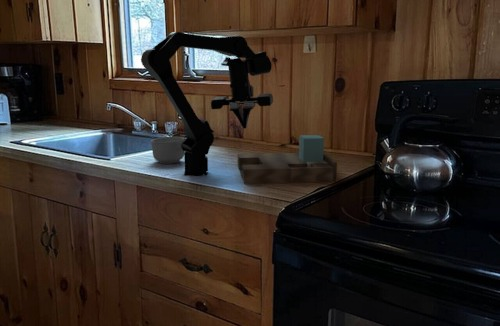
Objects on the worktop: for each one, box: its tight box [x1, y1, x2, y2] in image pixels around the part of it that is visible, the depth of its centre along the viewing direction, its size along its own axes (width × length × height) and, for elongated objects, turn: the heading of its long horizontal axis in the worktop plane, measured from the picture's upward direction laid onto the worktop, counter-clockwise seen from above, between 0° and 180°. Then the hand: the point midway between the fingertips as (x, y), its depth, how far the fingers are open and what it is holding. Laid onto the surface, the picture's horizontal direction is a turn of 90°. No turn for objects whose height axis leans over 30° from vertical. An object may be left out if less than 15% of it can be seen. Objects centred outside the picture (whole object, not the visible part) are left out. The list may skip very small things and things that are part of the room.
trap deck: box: [237, 152, 338, 185], centre depth 140 cm, size 26×22×6 cm
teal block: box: [298, 134, 325, 162], centre depth 140 cm, size 6×6×7 cm
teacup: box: [150, 136, 185, 165], centre depth 156 cm, size 14×11×8 cm
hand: (245, 128), depth 147 cm, fingers closed
